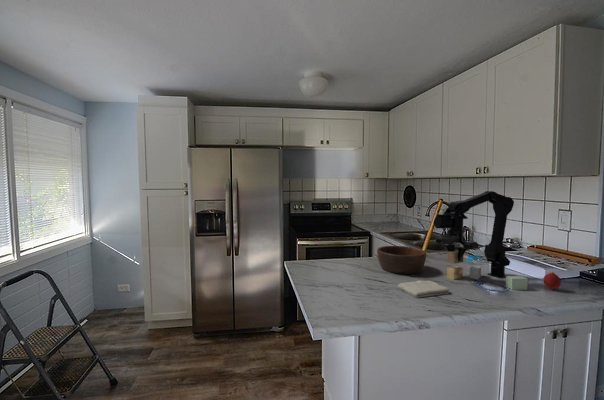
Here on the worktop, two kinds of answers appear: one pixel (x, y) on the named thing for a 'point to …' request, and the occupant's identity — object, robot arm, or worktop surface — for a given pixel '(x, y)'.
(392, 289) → the worktop surface
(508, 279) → the sage brick
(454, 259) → the walnut brick
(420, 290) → the washcloth
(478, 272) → the grey brick
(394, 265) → the wooden bowl
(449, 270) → the oak brick
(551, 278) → the red rounded lump
